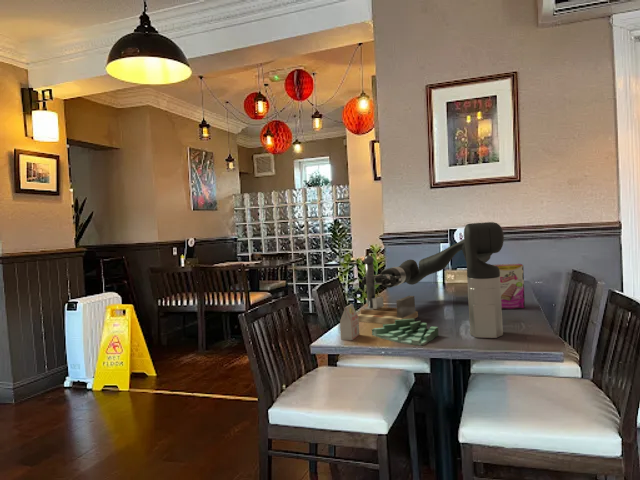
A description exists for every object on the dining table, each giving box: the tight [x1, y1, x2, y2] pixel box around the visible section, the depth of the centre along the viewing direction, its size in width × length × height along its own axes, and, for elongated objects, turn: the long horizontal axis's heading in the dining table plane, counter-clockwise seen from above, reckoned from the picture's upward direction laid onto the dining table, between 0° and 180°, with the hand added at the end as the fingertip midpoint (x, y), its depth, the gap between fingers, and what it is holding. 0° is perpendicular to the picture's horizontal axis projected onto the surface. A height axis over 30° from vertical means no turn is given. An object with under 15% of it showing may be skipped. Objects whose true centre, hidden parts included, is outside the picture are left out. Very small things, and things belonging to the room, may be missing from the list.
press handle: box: [363, 254, 385, 311], centre depth 173 cm, size 6×5×21 cm
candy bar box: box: [493, 263, 526, 310], centre depth 176 cm, size 11×5×16 cm, turn 84°
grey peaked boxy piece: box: [339, 303, 360, 341], centre depth 147 cm, size 4×7×10 cm, turn 157°
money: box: [371, 318, 439, 347], centre depth 144 cm, size 20×16×5 cm
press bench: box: [357, 295, 419, 325], centre depth 170 cm, size 18×14×8 cm
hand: (372, 282), depth 174 cm, fingers open, 8 cm apart
